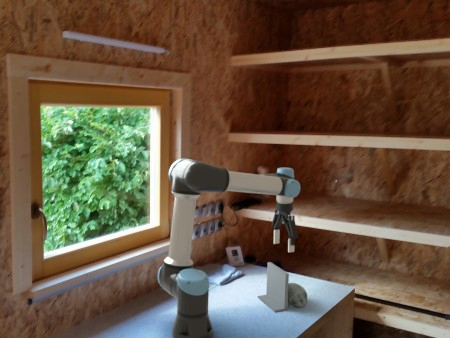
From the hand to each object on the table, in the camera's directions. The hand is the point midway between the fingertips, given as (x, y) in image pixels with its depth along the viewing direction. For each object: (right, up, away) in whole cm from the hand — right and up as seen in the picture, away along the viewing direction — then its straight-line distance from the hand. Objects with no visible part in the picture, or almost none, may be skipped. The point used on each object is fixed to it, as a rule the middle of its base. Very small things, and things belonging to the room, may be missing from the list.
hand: (283, 247), depth 211 cm
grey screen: (-6, -23, -9) cm, 25 cm away
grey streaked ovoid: (+4, -23, -8) cm, 25 cm away
